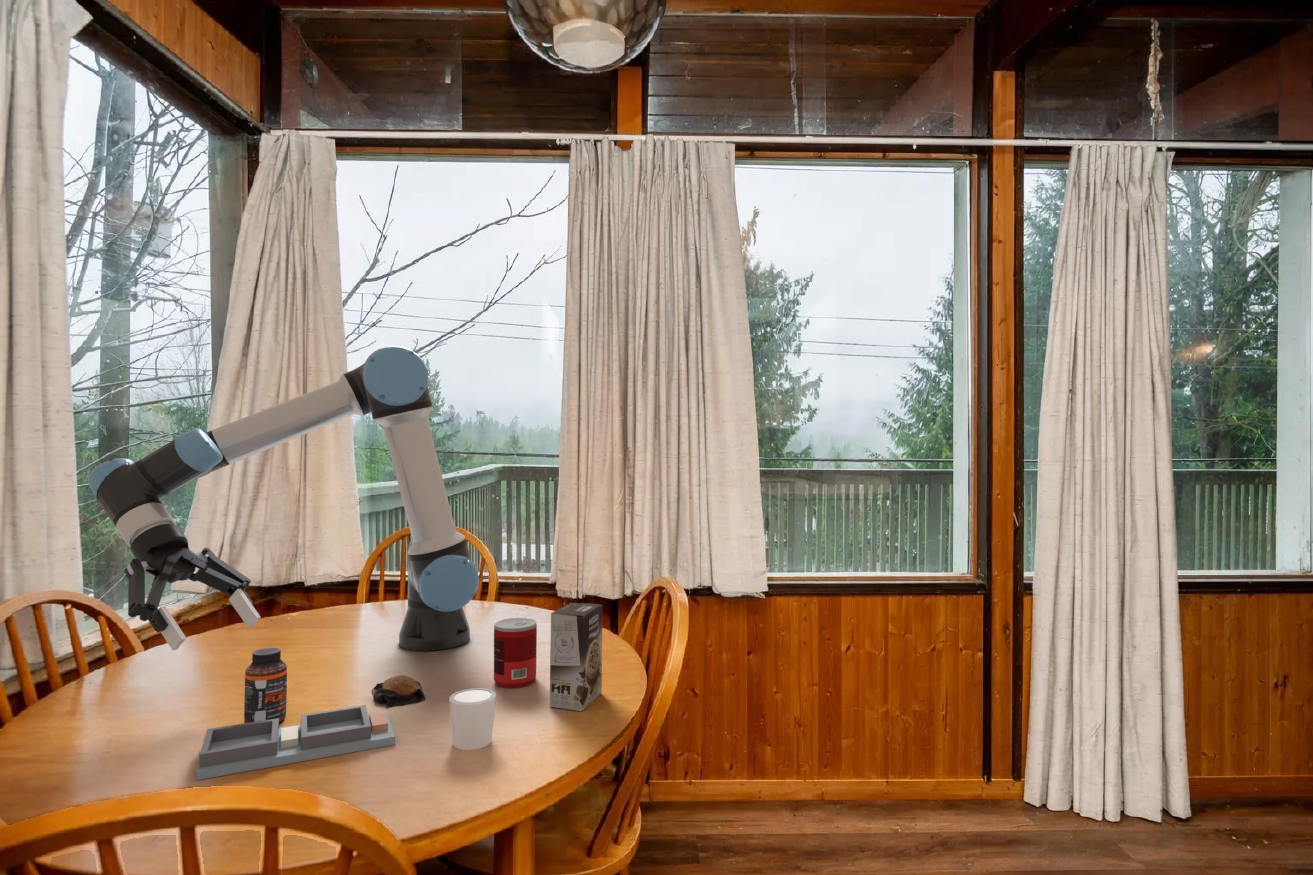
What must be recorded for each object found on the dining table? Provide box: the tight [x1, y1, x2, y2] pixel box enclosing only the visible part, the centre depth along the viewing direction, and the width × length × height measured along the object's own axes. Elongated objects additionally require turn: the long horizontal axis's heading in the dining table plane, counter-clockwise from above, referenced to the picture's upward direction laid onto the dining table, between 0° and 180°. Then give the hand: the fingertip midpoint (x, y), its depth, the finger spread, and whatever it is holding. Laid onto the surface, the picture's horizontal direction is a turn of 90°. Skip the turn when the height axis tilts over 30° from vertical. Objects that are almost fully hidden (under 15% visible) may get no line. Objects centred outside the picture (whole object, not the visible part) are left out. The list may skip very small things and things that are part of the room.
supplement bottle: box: [243, 647, 288, 724], centre depth 113 cm, size 6×6×11 cm
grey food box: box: [549, 602, 603, 712], centre depth 124 cm, size 9×6×16 cm
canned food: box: [493, 617, 538, 689], centre depth 133 cm, size 8×8×11 cm
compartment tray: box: [195, 704, 396, 781], centre depth 104 cm, size 25×11×3 cm, turn 117°
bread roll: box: [370, 674, 426, 709], centre depth 125 cm, size 11×8×4 cm
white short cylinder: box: [448, 687, 497, 751], centre depth 106 cm, size 7×7×7 cm
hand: (219, 633), depth 116 cm, fingers open, 13 cm apart
